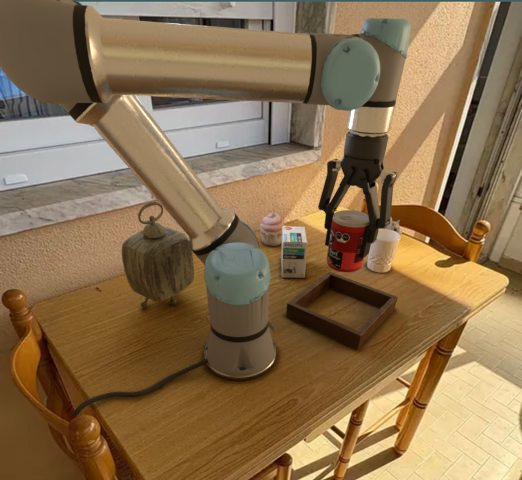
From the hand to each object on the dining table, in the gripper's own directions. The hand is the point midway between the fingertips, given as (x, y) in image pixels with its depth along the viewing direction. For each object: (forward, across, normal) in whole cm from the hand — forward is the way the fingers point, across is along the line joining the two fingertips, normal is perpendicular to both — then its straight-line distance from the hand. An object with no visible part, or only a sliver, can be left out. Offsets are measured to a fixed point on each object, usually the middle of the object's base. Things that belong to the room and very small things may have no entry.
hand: (346, 249), depth 83 cm
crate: (+17, -1, -1) cm, 17 cm away
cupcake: (+17, +36, -21) cm, 45 cm away
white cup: (+17, +2, -28) cm, 33 cm away
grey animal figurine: (+17, +9, -46) cm, 50 cm away
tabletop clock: (+18, +36, +23) cm, 46 cm away
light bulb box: (+17, +21, -11) cm, 29 cm away
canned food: (+4, 0, 0) cm, 4 cm away
